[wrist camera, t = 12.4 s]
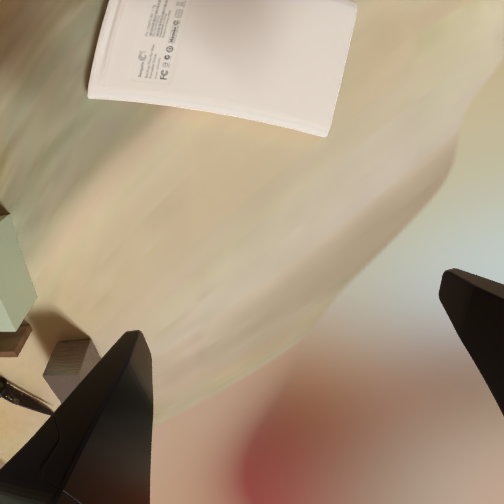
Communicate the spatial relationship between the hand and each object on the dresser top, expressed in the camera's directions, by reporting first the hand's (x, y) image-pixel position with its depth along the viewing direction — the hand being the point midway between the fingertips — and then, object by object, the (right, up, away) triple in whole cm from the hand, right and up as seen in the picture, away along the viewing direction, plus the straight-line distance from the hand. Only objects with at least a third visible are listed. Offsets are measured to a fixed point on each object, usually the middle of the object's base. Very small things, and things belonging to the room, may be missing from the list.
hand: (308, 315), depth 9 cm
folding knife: (-25, -10, +13) cm, 29 cm away
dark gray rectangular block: (-14, -8, +13) cm, 21 cm away
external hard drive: (-3, +13, +6) cm, 14 cm away
